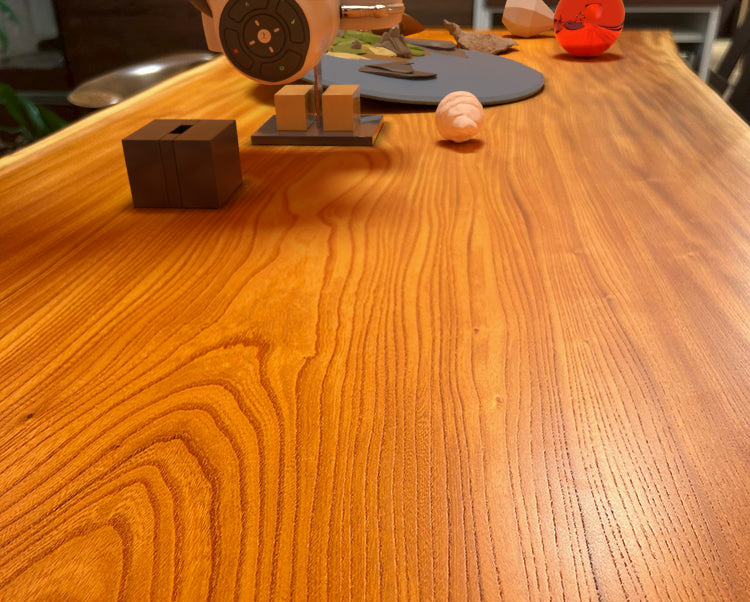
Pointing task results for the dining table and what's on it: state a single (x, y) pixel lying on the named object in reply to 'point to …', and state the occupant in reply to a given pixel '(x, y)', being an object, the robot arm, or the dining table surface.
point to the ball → (588, 25)
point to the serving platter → (422, 70)
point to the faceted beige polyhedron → (527, 17)
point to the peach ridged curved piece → (459, 116)
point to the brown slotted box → (183, 163)
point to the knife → (318, 92)
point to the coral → (478, 40)
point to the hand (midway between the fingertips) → (311, 0)
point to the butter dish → (300, 118)
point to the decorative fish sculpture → (402, 27)
